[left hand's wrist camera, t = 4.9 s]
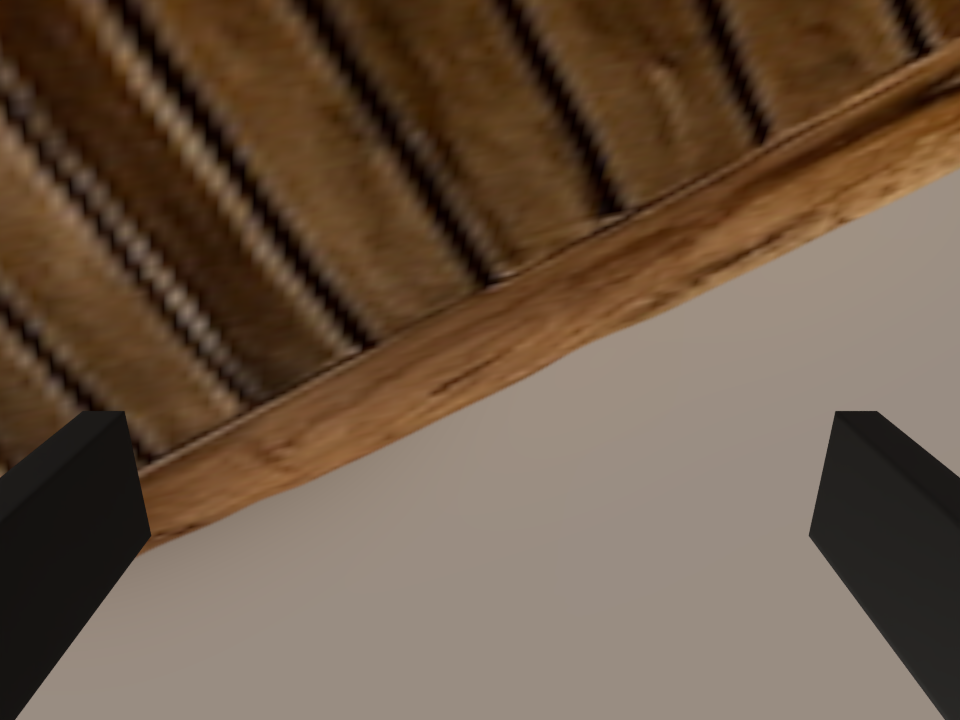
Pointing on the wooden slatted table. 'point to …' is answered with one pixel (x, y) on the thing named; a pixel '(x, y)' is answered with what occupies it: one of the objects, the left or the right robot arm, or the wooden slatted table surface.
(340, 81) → the wooden slatted table surface
